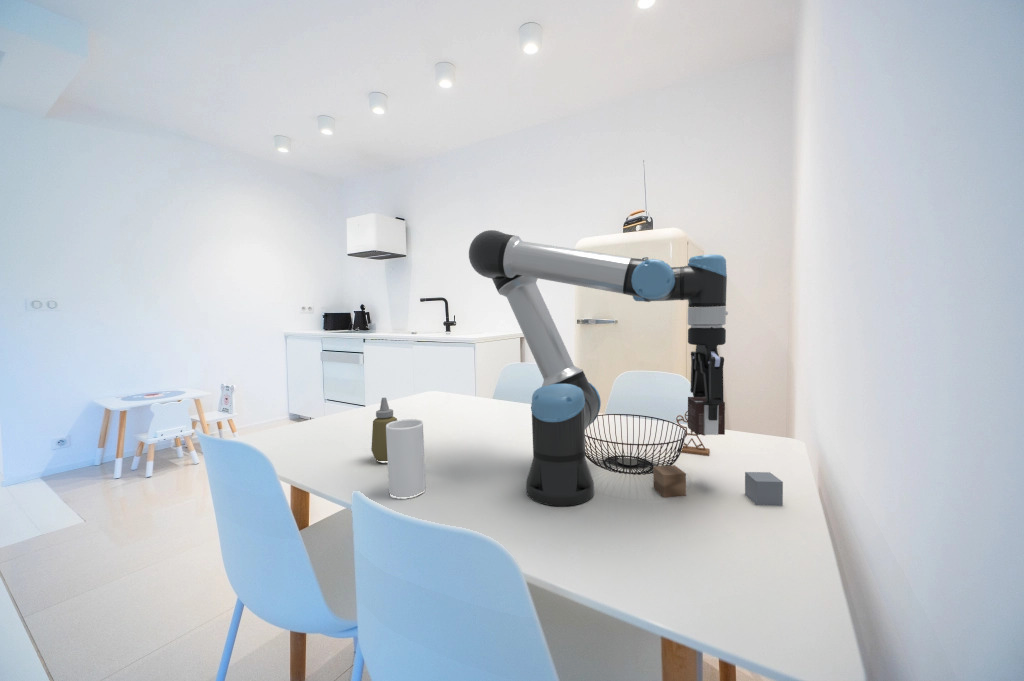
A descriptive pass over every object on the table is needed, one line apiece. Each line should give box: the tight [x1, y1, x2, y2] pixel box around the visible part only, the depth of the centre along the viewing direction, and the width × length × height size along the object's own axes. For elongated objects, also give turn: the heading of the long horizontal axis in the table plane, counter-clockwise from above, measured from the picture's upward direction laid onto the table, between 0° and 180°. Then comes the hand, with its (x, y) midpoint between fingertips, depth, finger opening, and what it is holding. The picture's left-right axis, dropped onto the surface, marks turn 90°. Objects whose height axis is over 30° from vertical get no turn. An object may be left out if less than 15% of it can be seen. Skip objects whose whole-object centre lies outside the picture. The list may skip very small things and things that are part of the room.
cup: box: [386, 418, 427, 497], centre depth 93 cm, size 8×8×16 cm
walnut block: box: [652, 464, 687, 498], centre depth 89 cm, size 5×5×5 cm
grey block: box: [744, 471, 784, 507], centre depth 84 cm, size 5×5×5 cm
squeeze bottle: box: [371, 397, 398, 461], centre depth 115 cm, size 8×8×18 cm
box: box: [687, 396, 726, 436], centre depth 90 cm, size 6×6×7 cm
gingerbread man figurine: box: [675, 410, 711, 457], centre depth 114 cm, size 9×4×12 cm, turn 61°
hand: (705, 429), depth 91 cm, fingers closed on box, 6 cm apart
